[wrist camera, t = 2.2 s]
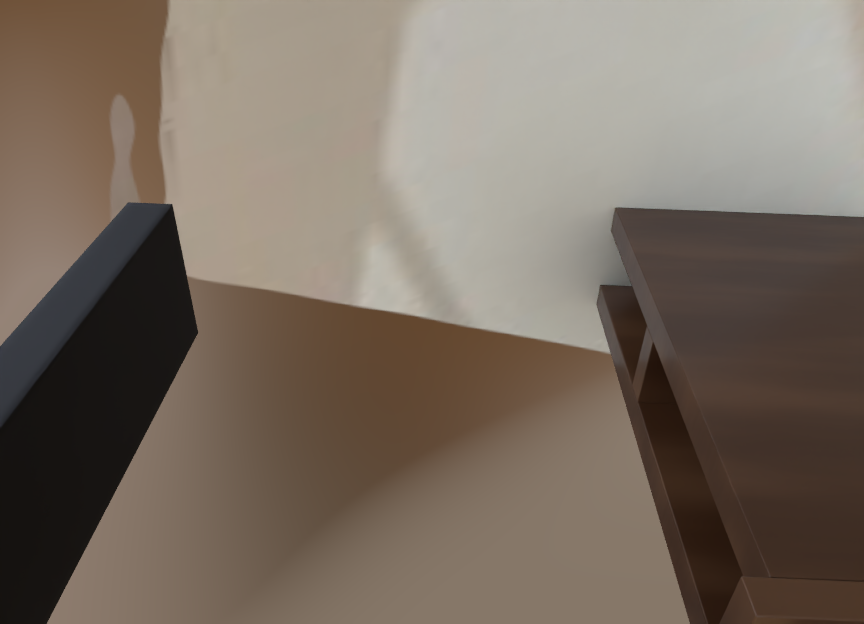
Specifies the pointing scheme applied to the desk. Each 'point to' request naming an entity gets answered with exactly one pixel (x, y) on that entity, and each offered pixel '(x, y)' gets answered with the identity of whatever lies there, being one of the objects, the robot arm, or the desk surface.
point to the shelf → (748, 405)
